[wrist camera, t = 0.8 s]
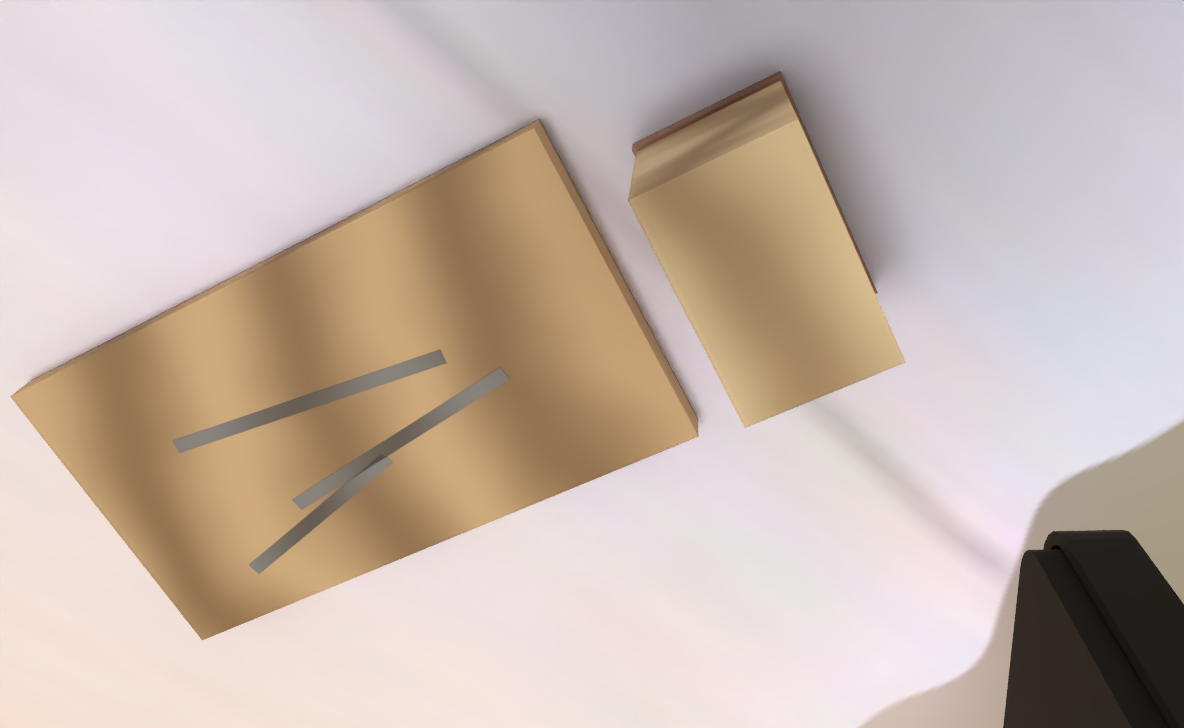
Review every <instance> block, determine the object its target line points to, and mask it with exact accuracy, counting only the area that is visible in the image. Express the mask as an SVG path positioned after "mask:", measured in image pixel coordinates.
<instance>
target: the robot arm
mask: <svg viewBox="0 0 1184 728" xmlns="http://www.w3.org/2000/svg"><path fill="white" fill-rule="evenodd" d="M1018 586H1019V587H1018V595H1017V604H1016V614H1015V623H1014V633H1013V642H1012V651H1011V661H1010V670H1009V679H1008V690H1007V698H1006V707H1005V717H1004V727H1003V728H1184V604H1183V603H1182V601H1181V600H1180V599H1179V597H1178V596H1177V595H1176V593H1175V592H1174V591H1173V589H1172V588H1171V586H1170V585H1169V584H1168V582H1167V581H1166V580H1165V579H1164V577H1163V576H1162V574H1161V573H1160V571H1159V570H1158V568H1157V567H1156V566H1155V564H1154V563H1153V562H1152V560H1151V559H1150V558H1149V556H1148V555H1147V553H1146V552H1145V551H1144V549H1143V548H1142V547H1141V545H1140V544H1139V543H1138V541H1137V540H1136V538H1135V537H1134V536H1133V535H1132V534H1131V533H1130V532H1129V531H1124V530H1099V531H1098V530H1097V531H1056V532H1055V531H1053V532H1052V533H1051V534H1049V535H1048V537H1047V540H1046V541H1045V544H1044V549H1043V550H1028V551H1026V552H1025V553H1024V555H1023V558H1022V562H1021V567H1020V576H1019V585H1018Z"/></svg>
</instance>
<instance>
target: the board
mask: <svg viewBox="0 0 1184 728" xmlns="http://www.w3.org/2000/svg"><path fill="white" fill-rule="evenodd" d="M10 397H11V398H12V399H13V401H14V402H15V403H16V404H17V406H18V407H19V408H20V410H21V411H22V412H23V413H24V415H25V416H26V417H27V418H28V420H29V421H30V422H31V423H32V425H33V426H34V427H35V429H36V430H37V431H38V432H39V434H40V435H41V436H42V437H43V439H44V440H45V441H46V443H47V444H48V445H49V446H50V448H51V449H52V450H53V451H54V453H55V454H56V455H57V456H58V458H59V459H60V460H61V462H62V463H63V464H64V465H65V467H66V468H67V469H68V470H69V472H70V473H71V474H72V475H73V477H74V478H75V479H76V481H77V482H78V483H79V484H80V486H81V487H82V488H83V489H84V491H85V492H86V493H87V495H88V496H89V497H90V498H91V500H92V501H93V502H94V503H95V505H96V506H97V507H98V508H99V510H100V511H101V512H102V514H103V515H104V516H105V517H106V519H107V520H108V521H109V522H110V524H111V525H112V526H113V528H114V529H115V530H116V531H117V533H118V534H119V535H120V536H121V538H122V539H123V540H124V541H125V543H126V544H127V545H128V547H129V548H130V549H131V550H132V552H133V553H134V554H135V555H136V557H137V558H138V559H139V561H140V562H141V563H142V564H143V566H144V567H145V568H146V569H147V571H148V572H149V573H150V574H151V576H152V577H153V578H154V580H155V581H156V582H157V583H158V585H159V586H160V587H161V588H162V590H163V591H164V592H165V594H166V595H167V596H168V597H169V599H170V600H171V601H172V602H173V604H174V605H175V606H176V607H177V609H178V610H179V611H180V613H181V614H182V615H183V616H184V618H185V619H186V620H187V621H188V623H189V624H190V625H191V626H192V628H193V629H194V630H195V632H196V633H197V634H198V635H199V637H200V638H201V639H202V640H204V639H207V638H209V637H211V636H214V635H216V634H219V633H221V632H224V631H226V630H228V629H231V628H233V627H236V626H238V625H241V624H243V623H245V622H248V621H250V620H253V619H255V618H258V617H260V616H263V615H265V614H267V613H270V612H272V611H275V610H277V609H280V608H282V607H284V606H287V605H289V604H292V603H294V602H297V601H299V600H301V599H304V598H306V597H309V596H311V595H314V594H316V593H318V592H321V591H323V590H326V589H328V588H331V587H333V586H336V585H338V584H340V583H343V582H345V581H348V580H350V579H353V578H355V577H357V576H360V575H362V574H365V573H367V572H370V571H372V570H374V569H377V568H379V567H382V566H384V565H387V564H389V563H391V562H394V561H396V560H399V559H401V558H404V557H406V556H409V555H411V554H413V553H416V552H418V551H421V550H423V549H426V548H428V547H430V546H433V545H435V544H438V543H440V542H443V541H445V540H447V539H450V538H452V537H455V536H457V535H460V534H462V533H464V532H467V531H469V530H472V529H474V528H477V527H479V526H482V525H484V524H486V523H489V522H491V521H494V520H496V519H499V518H501V517H503V516H506V515H508V514H511V513H513V512H516V511H518V510H520V509H523V508H525V507H528V506H530V505H533V504H535V503H537V502H540V501H542V500H545V499H547V498H550V497H552V496H555V495H557V494H559V493H562V492H564V491H567V490H569V489H572V488H574V487H576V486H579V485H581V484H584V483H586V482H589V481H591V480H593V479H596V478H598V477H601V476H603V475H606V474H608V473H610V472H613V471H615V470H618V469H620V468H623V467H625V466H628V465H630V464H632V463H635V462H637V461H640V460H642V459H645V458H647V457H649V456H652V455H654V454H657V453H659V452H662V451H664V450H666V449H669V448H671V447H674V446H676V445H679V444H681V443H683V442H686V441H688V440H691V439H693V438H696V437H698V418H697V416H696V415H695V413H694V411H693V409H692V407H691V405H690V403H689V401H688V399H687V398H686V396H685V394H684V392H683V390H682V388H681V386H680V384H679V382H678V381H677V379H676V377H675V375H674V373H673V371H672V369H671V367H670V365H669V364H668V362H667V360H666V358H665V356H664V354H663V352H662V350H661V348H660V347H659V345H658V343H657V341H656V339H655V337H654V335H653V333H652V332H651V330H650V328H649V326H648V324H647V322H646V320H645V318H644V316H643V315H642V313H641V311H640V309H639V307H638V305H637V303H636V301H635V299H634V298H633V296H632V294H631V292H630V290H629V288H628V286H627V284H626V282H625V281H624V279H623V277H622V275H621V273H620V271H619V269H618V267H617V265H616V264H615V262H614V260H613V258H612V256H611V254H610V252H609V250H608V248H607V247H606V245H605V243H604V241H603V239H602V237H601V235H600V233H599V231H598V230H597V228H596V226H595V224H594V222H593V220H592V218H591V216H590V214H589V213H588V211H587V209H586V207H585V205H584V203H583V201H582V199H581V197H580V196H579V194H578V192H577V190H576V188H575V186H574V184H573V182H572V181H571V179H570V177H569V175H568V173H567V171H566V169H565V167H564V165H563V164H562V162H561V160H560V158H559V156H558V154H557V152H556V150H555V148H554V147H553V145H552V143H551V141H550V139H549V137H548V135H547V133H546V131H545V130H544V128H543V126H542V124H541V122H540V120H537V121H535V122H533V123H531V124H529V125H527V126H525V127H523V128H521V129H519V130H518V131H516V132H514V133H512V134H510V135H508V136H506V137H504V138H502V139H500V140H498V141H496V142H494V143H492V144H490V145H488V146H486V147H484V148H483V149H481V150H479V151H477V152H475V153H473V154H471V155H469V156H467V157H465V158H463V159H461V160H459V161H457V162H455V163H453V164H451V165H449V166H448V167H446V168H444V169H442V170H440V171H438V172H436V173H434V174H432V175H430V176H428V177H426V178H424V179H422V180H420V181H418V182H416V183H414V184H413V185H411V186H409V187H407V188H405V189H403V190H401V191H399V192H397V193H395V194H393V195H391V196H389V197H387V198H385V199H383V200H381V201H379V202H378V203H376V204H374V205H372V206H370V207H368V208H366V209H364V210H362V211H360V212H358V213H356V214H354V215H352V216H350V217H348V218H346V219H344V220H343V221H341V222H339V223H337V224H335V225H333V226H331V227H329V228H327V229H325V230H323V231H321V232H319V233H317V234H315V235H313V236H311V237H309V238H308V239H306V240H304V241H302V242H300V243H298V244H296V245H294V246H292V247H290V248H288V249H286V250H284V251H282V252H280V253H278V254H276V255H275V256H273V257H271V258H269V259H267V260H265V261H263V262H261V263H259V264H257V265H255V266H253V267H251V268H249V269H247V270H245V271H243V272H241V273H240V274H238V275H236V276H234V277H232V278H230V279H228V280H226V281H224V282H222V283H220V284H218V285H216V286H214V287H212V288H210V289H208V290H206V291H205V292H203V293H201V294H199V295H197V296H195V297H193V298H191V299H189V300H187V301H185V302H183V303H181V304H179V305H177V306H175V307H173V308H171V309H170V310H168V311H166V312H164V313H162V314H160V315H158V316H156V317H154V318H152V319H150V320H148V321H146V322H144V323H142V324H140V325H138V326H136V327H135V328H133V329H131V330H129V331H127V332H125V333H123V334H121V335H119V336H117V337H115V338H113V339H111V340H109V341H107V342H105V343H103V344H101V345H100V346H98V347H96V348H94V349H92V350H90V351H88V352H86V353H84V354H82V355H80V356H78V357H76V358H74V359H72V360H70V361H68V362H66V363H65V364H63V365H61V366H59V367H57V368H55V369H53V370H51V371H49V372H47V373H45V374H43V375H41V376H39V377H37V378H35V379H33V380H31V381H30V382H28V383H27V384H26V385H25V386H23V387H22V388H21V389H19V390H18V391H17V392H16V393H14V394H13V395H12V396H10Z"/></svg>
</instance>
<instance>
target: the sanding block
mask: <svg viewBox="0 0 1184 728" xmlns="http://www.w3.org/2000/svg"><path fill="white" fill-rule="evenodd" d="M632 151H633V153H634V155H635V163H634V169H633V175H632V181H631V187H630V192H629V198H628V201H629V203H630V205H631V207H632V209H633V211H634V213H635V215H636V217H637V219H638V221H639V223H640V225H641V227H642V228H643V230H644V232H645V234H646V236H647V238H648V240H649V242H650V244H651V246H652V248H653V250H654V252H655V254H656V256H657V258H658V260H659V262H660V264H661V266H662V267H663V269H664V271H665V273H666V275H667V277H668V279H669V281H670V283H671V285H672V287H673V289H674V291H675V293H676V295H677V297H678V299H679V301H680V303H681V304H682V306H683V308H684V310H685V312H686V314H687V316H688V318H689V320H690V322H691V324H692V326H693V328H694V330H695V332H696V334H697V336H698V338H699V340H700V341H701V343H702V345H703V347H704V349H705V351H706V353H707V355H708V357H709V359H710V361H711V363H712V365H713V367H714V369H715V371H716V373H717V375H718V377H719V379H720V380H721V382H722V384H723V386H724V388H725V390H726V392H727V394H728V396H729V398H730V400H731V402H732V404H733V406H734V408H735V410H736V412H737V414H738V416H739V417H740V419H741V421H742V423H743V425H744V427H745V428H746V427H748V426H751V425H753V424H756V423H758V422H761V421H763V420H765V419H768V418H770V417H773V416H775V415H778V414H780V413H783V412H785V411H787V410H790V409H792V408H795V407H797V406H800V405H802V404H805V403H807V402H809V401H812V400H814V399H817V398H819V397H822V396H824V395H827V394H829V393H832V392H834V391H836V390H839V389H841V388H844V387H846V386H849V385H851V384H854V383H856V382H858V381H861V380H863V379H866V378H868V377H871V376H873V375H876V374H878V373H881V372H883V371H885V370H888V369H890V368H893V367H895V366H898V365H900V364H903V363H905V361H904V358H903V356H902V354H901V351H900V349H899V347H898V345H897V342H896V340H895V338H894V336H893V333H892V331H891V329H890V326H889V324H888V322H887V320H886V317H885V315H884V313H883V311H882V308H881V306H880V304H879V301H878V299H877V297H876V295H875V294H876V293H877V290H876V288H875V286H874V284H873V281H872V279H871V277H870V275H869V272H868V270H867V268H866V265H865V263H864V261H863V259H862V256H861V254H860V252H859V249H858V247H857V245H856V243H855V240H854V238H853V236H852V233H851V231H850V229H849V227H848V224H847V222H846V220H845V218H844V215H843V213H842V211H841V208H840V206H839V204H838V202H837V199H836V197H835V195H834V192H833V190H832V188H831V186H830V183H829V181H828V179H827V177H826V174H825V172H824V170H823V167H822V165H821V163H820V161H819V158H818V156H817V154H816V151H815V149H814V147H813V145H812V142H811V140H810V138H809V136H808V133H807V131H806V129H805V126H804V124H803V122H802V120H801V117H800V115H799V113H798V110H797V108H796V106H795V104H794V101H793V99H792V97H791V94H790V92H789V90H788V88H787V85H786V83H785V81H784V79H783V76H782V74H781V72H778V73H776V74H774V75H771V76H769V77H767V78H765V79H763V80H761V81H759V82H757V83H755V84H753V85H751V86H749V87H747V88H745V89H743V90H741V91H739V92H737V93H735V94H733V95H731V96H729V97H727V98H725V99H723V100H721V101H719V102H717V103H715V104H713V105H711V106H709V107H707V108H705V109H703V110H701V111H699V112H697V113H695V114H693V115H691V116H689V117H687V118H685V119H683V120H681V121H679V122H677V123H674V124H672V125H670V126H668V127H666V128H664V129H662V130H660V131H658V132H656V133H654V134H652V135H650V136H648V137H646V138H644V139H642V140H640V141H638V142H636V143H634V144H633V147H632Z"/></svg>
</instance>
